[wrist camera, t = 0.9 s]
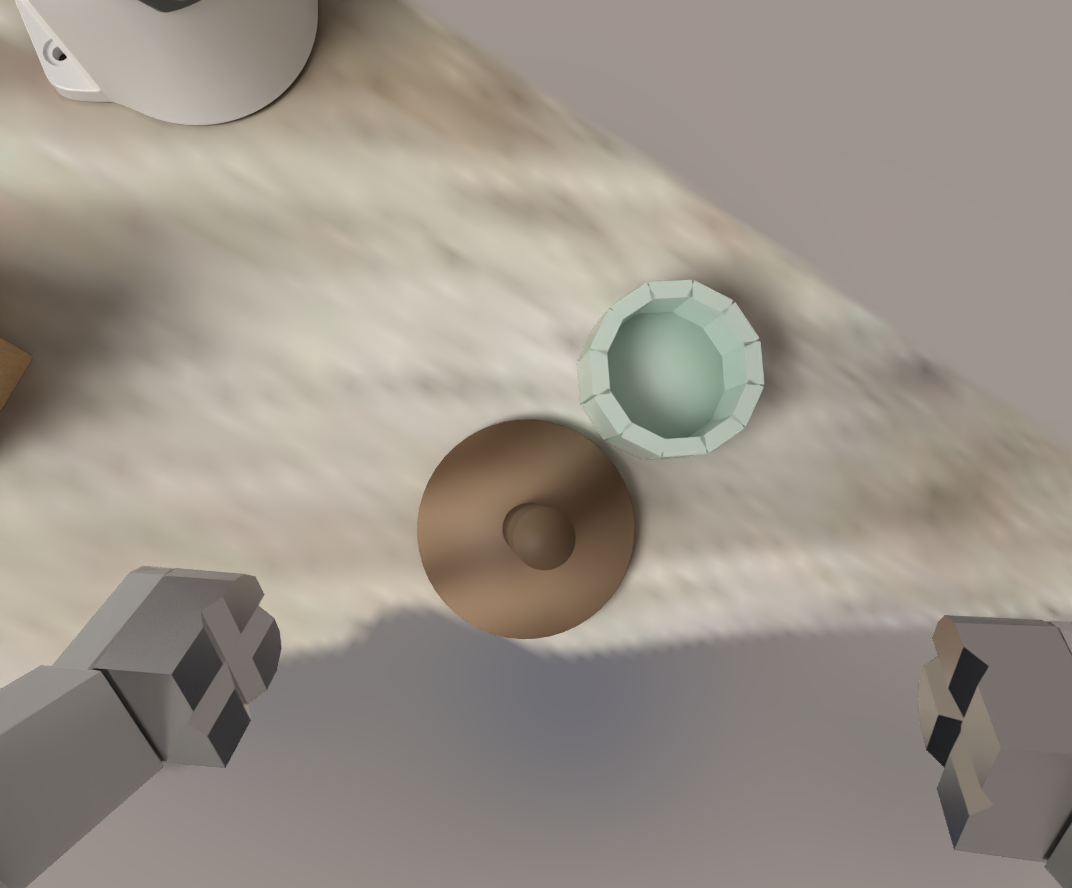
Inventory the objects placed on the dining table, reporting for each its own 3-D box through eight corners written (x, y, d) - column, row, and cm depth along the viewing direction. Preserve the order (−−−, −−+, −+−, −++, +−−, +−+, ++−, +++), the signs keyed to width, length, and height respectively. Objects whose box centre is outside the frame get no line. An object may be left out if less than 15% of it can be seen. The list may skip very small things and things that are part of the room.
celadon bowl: (547, 355, 47) (556, 342, 42) (676, 270, 48) (698, 247, 43) (637, 489, 47) (656, 490, 42) (764, 401, 48) (795, 392, 43)
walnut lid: (375, 499, 45) (352, 503, 35) (553, 380, 47) (579, 351, 37) (497, 678, 45) (508, 732, 35) (670, 554, 47) (728, 572, 37)
